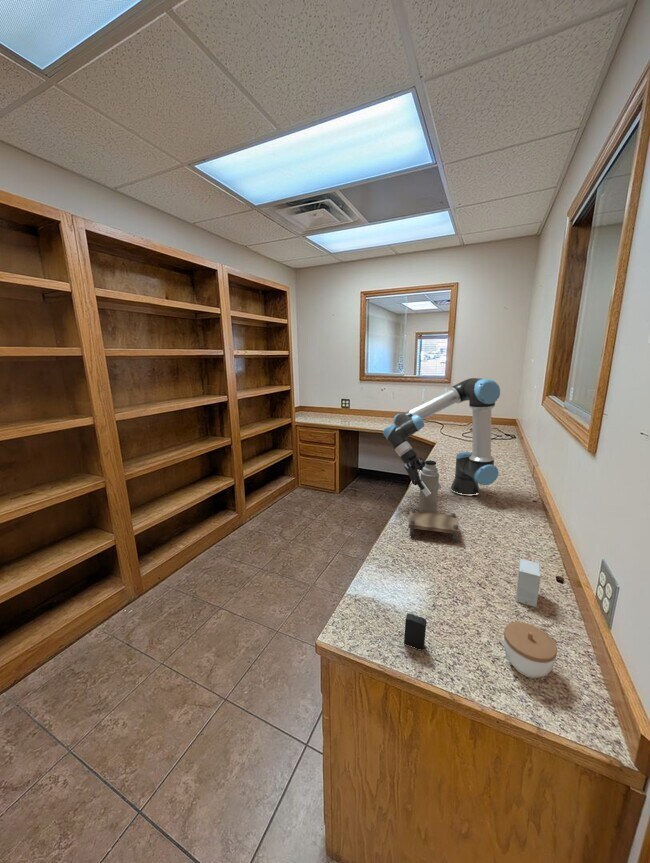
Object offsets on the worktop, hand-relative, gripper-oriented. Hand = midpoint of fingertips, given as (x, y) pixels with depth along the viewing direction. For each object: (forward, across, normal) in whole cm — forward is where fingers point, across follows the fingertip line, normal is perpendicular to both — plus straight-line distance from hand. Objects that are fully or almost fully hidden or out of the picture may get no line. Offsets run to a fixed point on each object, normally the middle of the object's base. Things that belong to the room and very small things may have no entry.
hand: (434, 491), depth 150 cm
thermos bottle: (+8, 0, -12) cm, 15 cm away
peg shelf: (+14, +11, -6) cm, 19 cm away
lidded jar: (+47, +56, +26) cm, 78 cm away
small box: (+42, +29, +22) cm, 56 cm away
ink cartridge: (+31, +69, +11) cm, 76 cm away
